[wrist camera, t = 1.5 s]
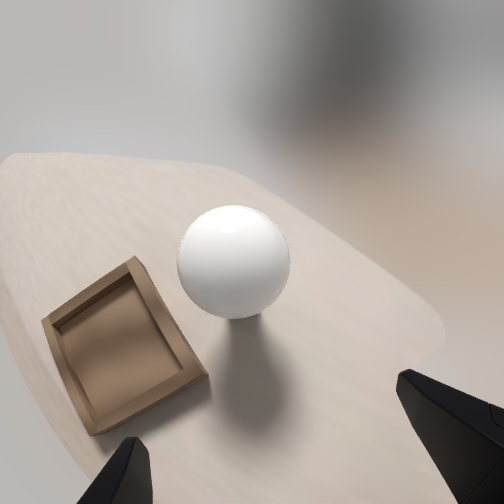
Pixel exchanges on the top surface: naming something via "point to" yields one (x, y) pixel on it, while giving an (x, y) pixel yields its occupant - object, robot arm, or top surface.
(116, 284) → the walnut tray
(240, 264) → the lightbulb
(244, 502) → the top surface
